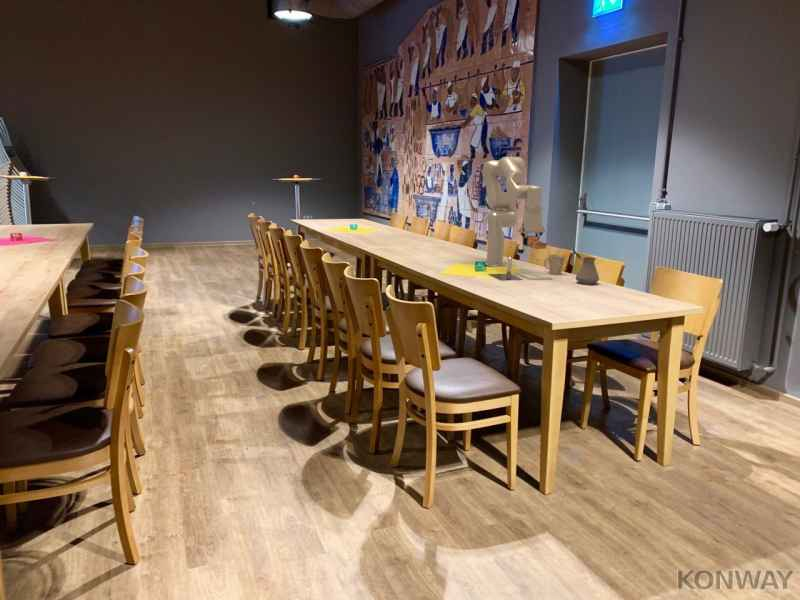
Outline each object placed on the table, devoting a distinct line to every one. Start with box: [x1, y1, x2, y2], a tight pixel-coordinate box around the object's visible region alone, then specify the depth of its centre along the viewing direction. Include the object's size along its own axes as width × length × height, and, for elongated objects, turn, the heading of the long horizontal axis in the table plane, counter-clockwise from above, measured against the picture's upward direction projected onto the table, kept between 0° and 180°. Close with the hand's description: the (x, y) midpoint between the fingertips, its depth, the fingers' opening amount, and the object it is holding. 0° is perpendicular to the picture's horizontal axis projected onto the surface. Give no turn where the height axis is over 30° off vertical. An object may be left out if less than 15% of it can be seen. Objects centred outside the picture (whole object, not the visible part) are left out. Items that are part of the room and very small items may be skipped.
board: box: [513, 270, 553, 281], centre depth 325 cm, size 20×12×2 cm, turn 15°
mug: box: [543, 254, 565, 276], centre depth 340 cm, size 8×13×10 cm, turn 39°
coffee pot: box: [571, 249, 600, 286], centre depth 318 cm, size 21×12×15 cm, turn 17°
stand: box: [487, 256, 525, 282], centre depth 321 cm, size 18×13×12 cm
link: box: [526, 235, 548, 250], centre depth 321 cm, size 14×6×5 cm, turn 14°
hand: (530, 244), depth 326 cm, fingers closed on link, 5 cm apart
